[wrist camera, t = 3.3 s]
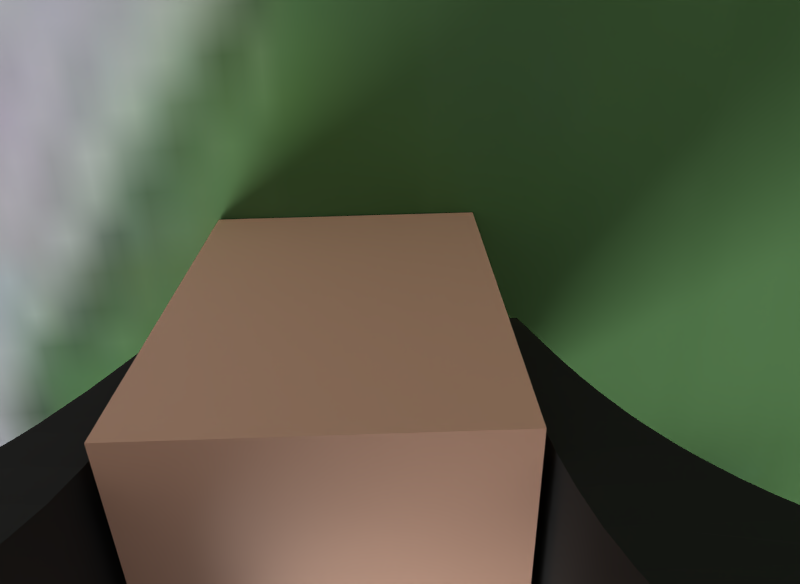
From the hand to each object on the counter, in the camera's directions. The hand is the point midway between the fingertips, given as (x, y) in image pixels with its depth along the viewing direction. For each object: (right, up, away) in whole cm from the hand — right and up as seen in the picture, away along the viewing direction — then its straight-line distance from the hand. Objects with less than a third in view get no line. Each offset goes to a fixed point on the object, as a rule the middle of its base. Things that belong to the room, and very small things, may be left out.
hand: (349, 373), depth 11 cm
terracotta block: (0, +1, +1) cm, 2 cm away
